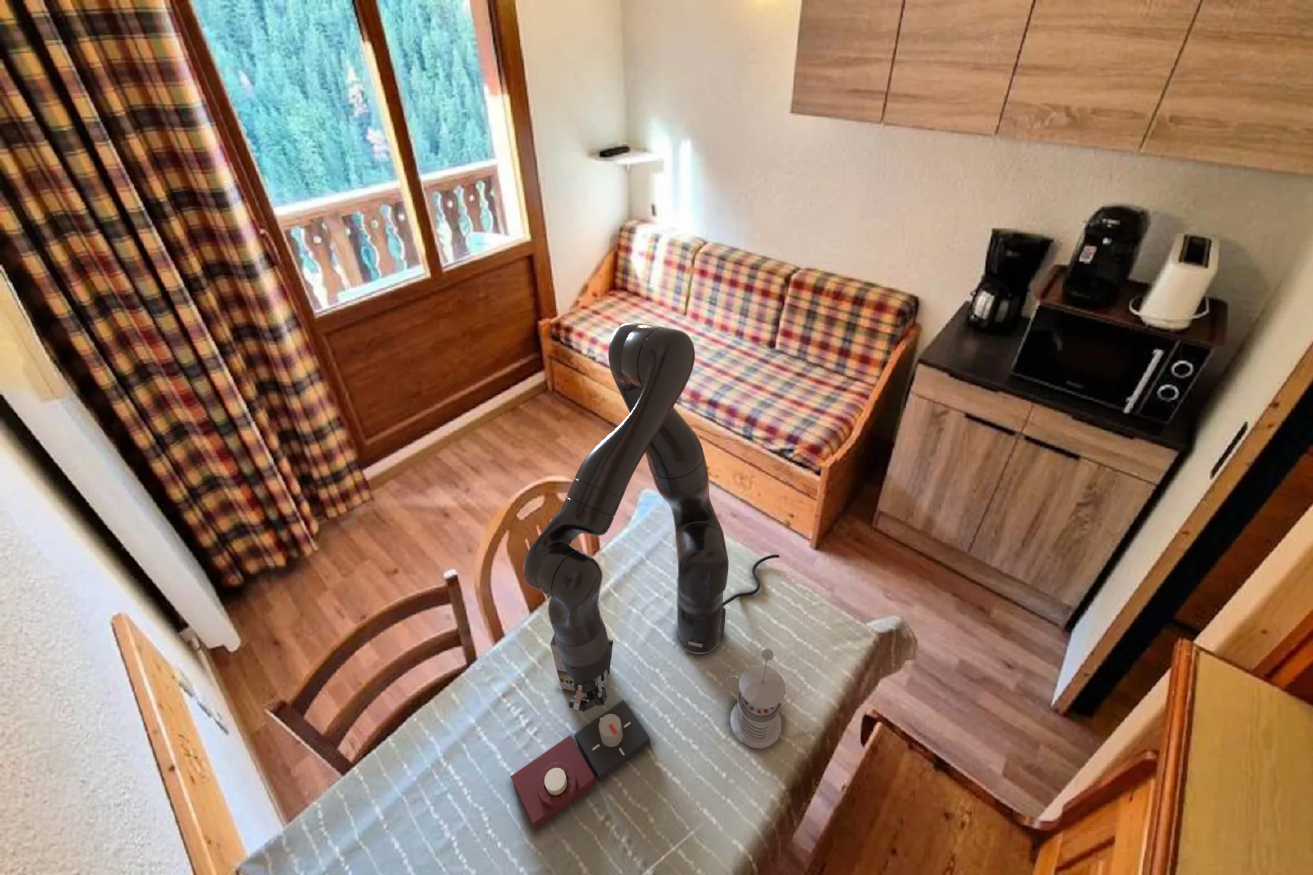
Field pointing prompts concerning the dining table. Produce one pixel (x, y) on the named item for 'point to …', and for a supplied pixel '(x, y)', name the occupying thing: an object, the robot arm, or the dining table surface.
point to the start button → (555, 781)
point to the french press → (758, 704)
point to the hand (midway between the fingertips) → (600, 700)
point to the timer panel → (614, 757)
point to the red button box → (533, 781)
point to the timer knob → (610, 730)
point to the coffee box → (561, 668)
